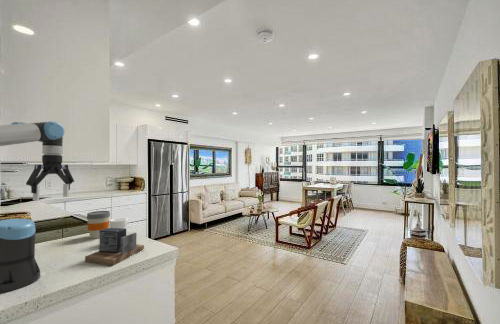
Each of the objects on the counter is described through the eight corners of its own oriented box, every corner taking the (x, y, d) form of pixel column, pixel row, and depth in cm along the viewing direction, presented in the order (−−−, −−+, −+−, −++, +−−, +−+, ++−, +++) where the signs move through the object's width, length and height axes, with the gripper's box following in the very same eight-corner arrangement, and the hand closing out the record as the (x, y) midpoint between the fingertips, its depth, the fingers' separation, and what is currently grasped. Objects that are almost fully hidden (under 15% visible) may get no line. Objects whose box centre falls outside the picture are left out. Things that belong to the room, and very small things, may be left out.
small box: (127, 248, 118) (127, 228, 118) (117, 253, 111) (117, 231, 112) (109, 247, 120) (109, 227, 120) (98, 252, 113) (98, 230, 114)
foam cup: (110, 240, 139) (110, 218, 139) (128, 238, 143) (128, 217, 143) (108, 245, 131) (108, 222, 131) (127, 243, 134) (127, 220, 135)
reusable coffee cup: (106, 238, 144) (107, 213, 144) (83, 240, 140) (83, 215, 140) (112, 232, 156) (112, 210, 156) (90, 234, 152) (90, 211, 152)
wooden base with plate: (113, 265, 104) (114, 241, 104) (85, 261, 108) (85, 239, 108) (144, 249, 124) (144, 229, 124) (118, 247, 127) (119, 228, 127)
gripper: (71, 156, 127) (70, 195, 126) (15, 153, 102) (14, 201, 102) (82, 155, 125) (82, 195, 125) (28, 153, 101) (27, 202, 100)
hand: (51, 198), depth 113 cm, fingers open, 13 cm apart
